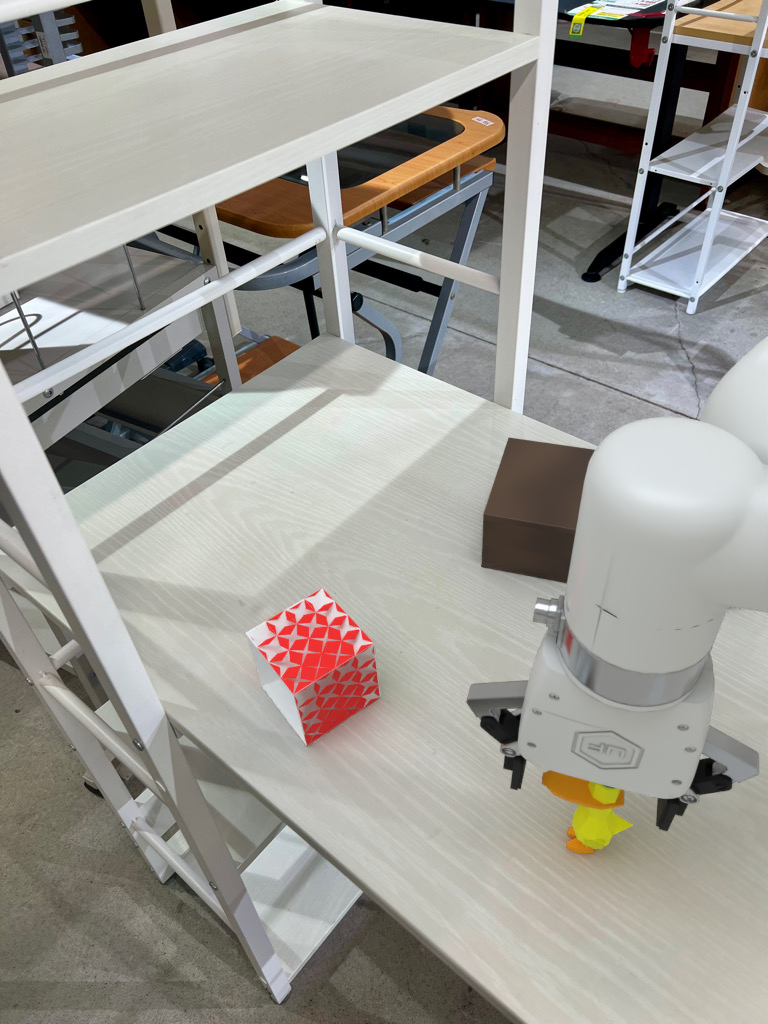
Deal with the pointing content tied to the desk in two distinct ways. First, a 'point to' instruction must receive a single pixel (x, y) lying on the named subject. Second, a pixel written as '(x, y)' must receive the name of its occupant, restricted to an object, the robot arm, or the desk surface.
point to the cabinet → (534, 509)
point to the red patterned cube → (315, 665)
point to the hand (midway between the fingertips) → (588, 789)
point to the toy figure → (588, 810)
